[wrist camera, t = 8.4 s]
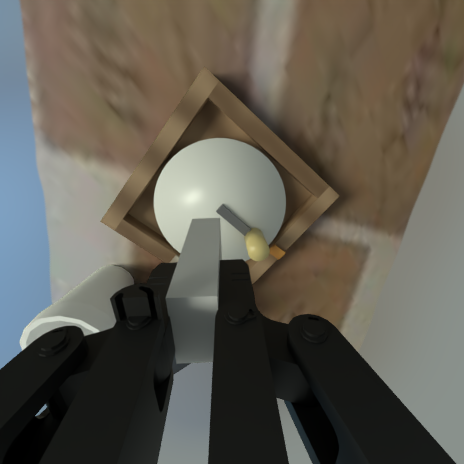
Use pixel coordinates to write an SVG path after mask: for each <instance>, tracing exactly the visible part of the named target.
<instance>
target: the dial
mask: <svg viewBox="0 0 464 464" xmlns="http://www.w3.org/2000/svg"><path fill="white" fill-rule="evenodd" d="M285 209H286V195H285V189H284V185H283V182H282V179H281V177H280V175H279V173H278V171H277V169H276V168H275V166H274V165H273V164H272V162H271V161H270V160H269V159H268V158H267V157H266V156H265V155H264V154H263V153H261V152H260V151H259V150H257V149H256V148H254V147H252V146H250V145H248V144H246V143H244V142H241V141H237V140H234V139H228V138H211V139H205V140H202V141H198V142H196V143H193V144H191V145H189V146H187V147H185V148H184V149H182V150H181V151H179V152H178V153H177V154H176V155H174V156H173V157H172V158H171V160H170V161H169V162H168V163H167V164H166V166H165V167H164V169H163V170H162V172H161V174H160V176H159V178H158V181H157V184H156V187H155V193H154V212H155V216H156V220H157V223H158V226H159V228H160V230H161V232H162V234H163V235H164V237H165V238H166V240H167V241H168V242H169V243H170V244H171V245H172V246H173V248H175V249H176V250H177V251H178V252H179V253H181V251H182V248H183V245H184V242H185V239H186V236H187V233H188V230H189V227H190V224H191V221H192V219H199V218H220V226H221V247H222V260H232V259H243V260H244V261H247V260H249V259H252V260H254V261H262V260H264V259H266V258H267V257H268V255H269V253H270V249H269V246H268V245H269V244H270V243H271V242H272V241H273V239H274V238H275V237H276V235H277V233H278V232H279V230H280V228H281V225H282V222H283V219H284V215H285Z"/></svg>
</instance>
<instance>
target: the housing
mask: <svg viewBox="0 0 464 464" xmlns="http://www.w3.org/2000/svg"><path fill="white" fill-rule="evenodd" d="M211 138H228V139H234V140H237V141H241V142H244V143H246V144H248V145H250V146H252V147H254V148H256V149H257V150H259V151H260V152H261V153H263V154H264V155H265V156H266V157H267V158H268V159H269V160H270V161H271V162H272V164H273V165H274V166H275V168H276V169H277V171H278V173H279V175H280V177H281V179H282V182H283V185H284V189H285V195H286V209H285V215H284V219H283V222H282V225H281V228H280V230H279V232H278V233H277V235H276V237H275V238H274V239H273V241H272V242H271V243H270V244H269V245H268V246H269V249H270V253H269V255H268V257H267V258H266V259H264V260H262V261H254V260H252V259H249V260H247V261H245V262H246V263H247V264H248V265H249V271H250V276H251V282H252V285H253V284H254V283H255V282H256V281H257V279H258V278H259V277H260V276H261V275H262V274H263V273H264V272H265V271H266V270H267V269H268V268H269V267H270V266H271V265H272V264H273V263H274V262H275V261H276V260H277V259H278V260H279V259H280V258H281V257H282V256H283V255H284V254H285V251H286V250H287V249H288V248H289V247H290V246H291V245H292V244H293V243H294V242H295V241H296V240H297V239H298V238H299V237H300V236H301V235H302V234H303V233H304V232H305V231H306V230H307V229H308V228H309V227H310V226H311V225H312V224H313V223H314V222H315V221H316V220H317V219H318V218H319V216H320V215H321V214H322V213H323V212H324V211H325V210H326V209H327V208H328V207H329V206H330V205H331V204H332V203H333V202H334V201H335V200H336V199H337V198H338V197H339V195H338V194H337V193H336V192H335V191H334V190H333V189H332V188H331V187H330V186H329V185H328V184H327V183H326V182H325V181H324V180H322V179H321V178H320V177H319V176H318V175H317V174H316V173H315V172H314V171H313V170H312V169H311V168H310V167H309V166H308V165H307V164H306V163H305V162H304V161H303V160H302V159H301V158H299V157H298V156H297V155H296V154H295V153H294V152H293V151H292V150H291V149H290V148H289V147H288V146H287V145H286V144H285V143H284V142H283V141H282V140H281V139H280V138H279V137H278V136H276V135H275V134H274V133H273V132H272V131H271V130H270V129H269V128H268V127H267V126H266V125H265V124H264V123H263V122H262V121H261V120H260V119H259V118H258V117H257V116H256V115H255V114H253V113H252V112H251V111H250V110H249V109H248V108H247V107H246V106H245V105H244V104H243V103H242V102H241V101H240V100H239V99H238V98H237V97H236V96H235V95H234V94H233V93H231V92H230V91H229V90H228V89H227V88H226V87H225V86H224V85H223V84H222V83H221V82H220V81H219V80H218V79H217V78H216V77H215V76H214V75H213V74H212V73H211V72H210V71H208V70H207V69H206V68H205V67H204V68H203V69H202V71H201V72H200V74H199V75H198V76H197V78H196V79H195V81H194V82H193V84H192V85H191V87H190V88H189V90H188V91H187V93H186V94H185V96H184V97H183V99H182V100H181V102H180V103H179V105H178V106H177V108H176V109H175V111H174V112H173V114H172V115H171V117H170V118H169V120H168V121H167V123H166V124H165V126H164V127H163V129H162V130H161V132H160V133H159V135H158V136H157V138H156V139H155V141H154V142H153V144H152V145H151V147H150V148H149V150H148V151H147V153H146V154H145V156H144V157H143V159H142V160H141V162H140V163H139V165H138V166H137V168H136V169H135V171H134V172H133V174H132V175H131V177H130V178H129V180H128V181H127V182H126V184H125V185H124V187H123V188H122V190H121V191H120V193H119V194H118V196H117V197H116V199H115V200H114V202H113V203H112V205H111V206H110V208H109V209H108V211H107V212H106V214H105V215H104V217H103V218H102V220H101V221H100V222H102V223H104V224H105V225H107V226H108V227H110V228H111V229H113V230H115V231H116V232H118V233H119V234H121V235H122V236H124V237H126V238H127V239H129V240H130V241H132V242H133V243H135V244H137V245H138V246H140V247H141V248H143V249H144V250H146V251H148V252H149V253H151V254H152V255H154V256H155V257H157V258H159V259H160V260H162V261H163V262H165V263H175V262H178V260H179V257H180V254H181V253H179V252H178V251H177V250H176V249H175V248H173V246H172V245H171V244H170V243H169V242H168V241H167V240H166V238H165V237H164V235H163V234H162V232H161V230H160V228H159V226H158V223H157V220H156V216H155V212H154V193H155V187H156V184H157V181H158V178H159V176H160V174H161V172H162V170H163V169H164V167H165V166H166V164H167V163H168V162H169V161H170V160H171V158H172V157H173V156H174V155H176V154H177V153H178V152H179V151H181V150H182V149H184V148H185V147H187V146H189V145H191V144H193V143H196V142H198V141H202V140H205V139H211Z"/></svg>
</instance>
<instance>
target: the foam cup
mask: <svg viewBox="0 0 464 464" xmlns="http://www.w3.org/2000/svg"><path fill="white" fill-rule="evenodd" d="M133 284H134V279H133V278H132V276H131V274H130V273H129V272H128V271H126V270H125V269H123V268H122V267H119V266H115V265H108V266H103V267H101V268H100V269H98V270H97V271H96V272H94V273H93V274H92V275H90V276H89V277H88V278H86V279H85V280H84V281H83V282H81V283H80V284H79V285H77V286H76V287H75V288H74V289H72V290H71V291H70V292H69V293H67V294H66V295H65V296H63V297H62V298H61V299H60V300H58V301H57V302H56V303H55V304H52V305H51V306H49V307H48V308H46V309H45V310H43V311H42V312H40V313H39V314H38V315H37V316H36V317H35V318H34V319H33V320H32V321H31V322H30V323H29V324H28V325H27V326H26V327H25V328H24V331H23V334H22V336H21V339H20V345H21V348H22V351H23V350H24V349H25V348H26V347H27V346H28V345H30V344H31V343H32V342H33V341H34V340H36V339H37V338H39V337H40V336H41V335H43V334H44V333H47V332H49V331H51V330H53V329H55V328H59V327H63V326H77V327H79V328H81V329H82V331H83V333H84V336H86V335H90V334H93V333H97V332H101V331H104V330H107V329H110V328H113V327H114V325H115V323H116V319H115V315H114V312H113V308H112V305H111V301H110V298H111V297H112V296H113V295H114V294H115V293H116V292H117V291H119V290H121V289H122V288H124V287H127V286H130V285H133Z"/></svg>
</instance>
